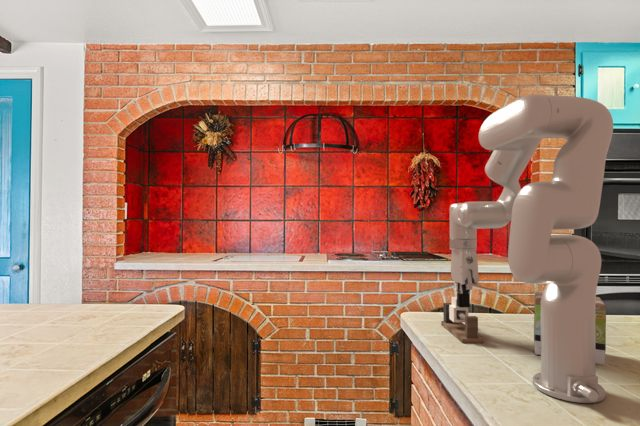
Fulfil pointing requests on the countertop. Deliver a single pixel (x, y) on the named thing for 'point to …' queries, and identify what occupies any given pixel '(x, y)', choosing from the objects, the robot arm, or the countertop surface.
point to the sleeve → (453, 308)
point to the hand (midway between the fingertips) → (463, 306)
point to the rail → (462, 326)
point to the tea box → (599, 328)
